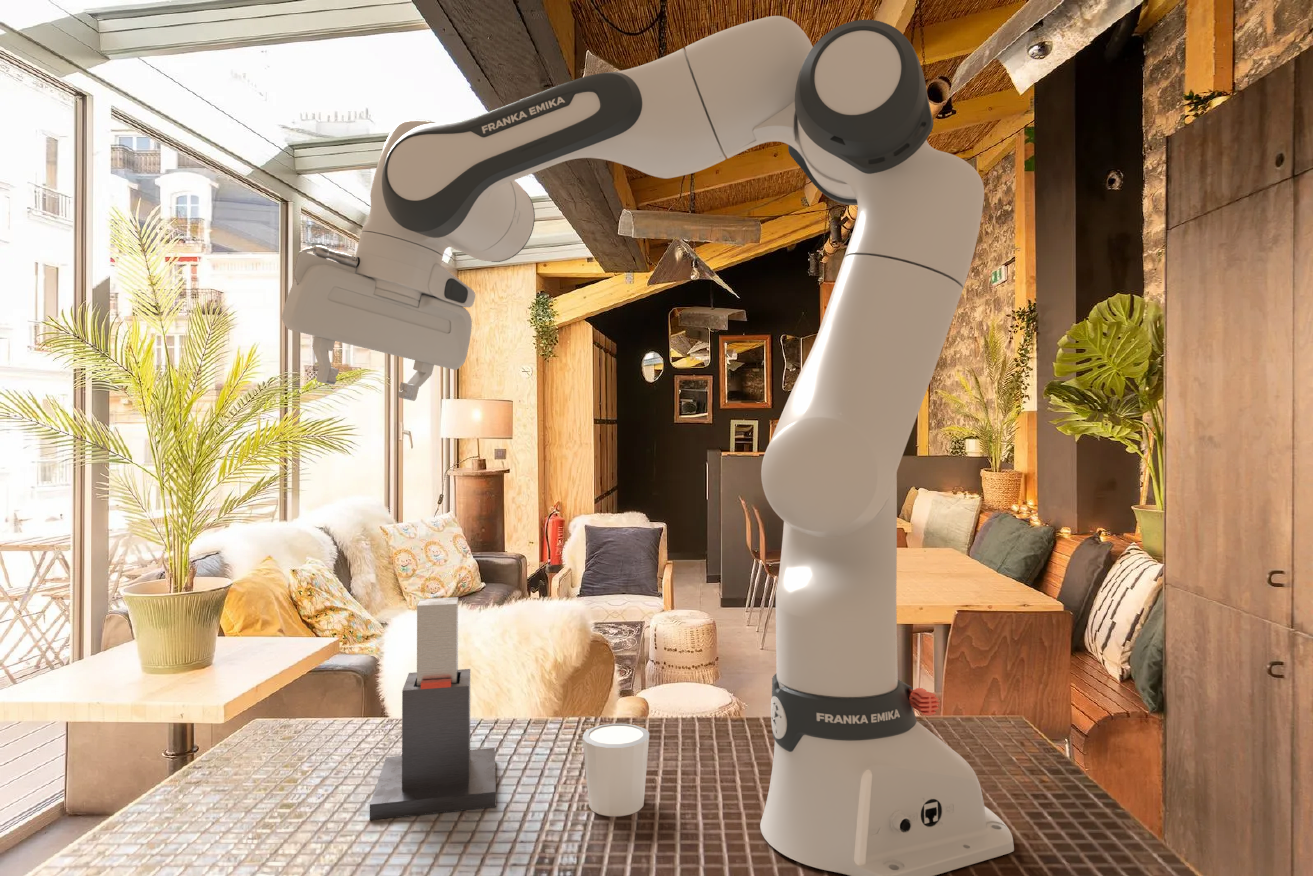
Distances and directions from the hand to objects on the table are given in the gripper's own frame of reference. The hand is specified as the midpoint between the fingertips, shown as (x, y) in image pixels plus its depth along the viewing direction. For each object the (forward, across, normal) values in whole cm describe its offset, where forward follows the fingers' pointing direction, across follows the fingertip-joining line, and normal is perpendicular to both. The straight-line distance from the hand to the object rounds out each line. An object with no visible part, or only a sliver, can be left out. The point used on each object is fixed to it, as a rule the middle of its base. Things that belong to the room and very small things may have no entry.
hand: (367, 391), depth 84 cm
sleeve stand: (+39, +10, -17) cm, 44 cm away
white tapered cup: (+34, +20, -33) cm, 52 cm away
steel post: (+37, +10, -17) cm, 42 cm away
